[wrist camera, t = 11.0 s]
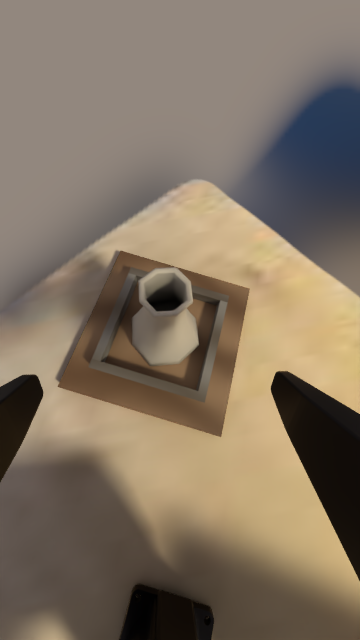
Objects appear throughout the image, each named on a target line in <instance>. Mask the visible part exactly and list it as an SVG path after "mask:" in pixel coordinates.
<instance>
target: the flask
mask: <svg viewBox="0 0 360 640" xmlns="http://www.w3.org/2000/svg"><path fill="white" fill-rule="evenodd" d="M138 283H139V302H140V303H141V304H142V305H143V307H142V308H141V309H140V310H139V312H138V313H136V314H135V315H134V316H133V317H132V346H133V347H134V348H135V349H136V350H137V351H138V353H139V354H140V355H141V356H142V357H143V359H144V360H145V361H146V362H147V363H148V364H149V366H150V367H151V366H162V365H173V364H180V363H181V362H182V361H183V360H184V359H185V358H186V357H187V356H188V355H189V354H190V353H191V352H193V351H194V350H195V349H196V348H197V347H198V346H199V338H198V330H197V322H196V318H195V317H194V316H193V315H192V314H191V313H190V312H189V310H188V309H187V307H189V306H190V305H191V304H192V303H193V297H192V288H191V281H190V280H189V279H188V278H187V277H186V276H185V275H184V274H183V273H182V272H181V271H180V270H179V269H178V268H177V267H169V268H155V269H153V270H152V271H151V272H149V273H148V274H146V275H145V276H144V277H142V278H141V279H139V280H138Z"/></svg>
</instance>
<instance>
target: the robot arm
mask: <svg viewBox="0 0 360 640" xmlns="http://www.w3.org/2000/svg"><path fill="white" fill-rule="evenodd" d="M271 392H272V395H273V398H274V401H275V403H276V406H277V409H278V411H279V414H280V416H281V419H282V422H283V424H284V427H285V429H286V432H287V434H288V436H289V438H290V440H291V442H292V444H293V446H294V448H295V450H296V452H297V454H298V456H299V458H300V460H301V462H302V464H303V466H304V469H305V471H306V473H307V475H308V477H309V479H310V481H311V483H312V485H313V487H314V489H315V491H316V493H317V495H318V497H319V499H320V501H321V503H322V505H323V507H324V509H325V511H326V513H327V515H328V517H329V519H330V521H331V524H332V526H333V528H334V530H335V532H336V534H337V536H338V538H339V540H340V542H341V544H342V546H343V548H344V550H345V552H346V554H347V556H348V558H349V560H350V562H351V564H352V566H353V568H354V570H355V572H356V574H357V576H358V578H359V581H360V414H359V413H357V412H355V411H354V410H352V409H350V408H349V407H347V406H345V405H344V404H342V403H340V402H339V401H337V400H335V399H334V398H332V397H330V396H329V395H327V394H325V393H323V392H322V391H320V390H318V389H317V388H315V387H313V386H312V385H310V384H308V383H307V382H305V381H303V380H302V379H300V378H298V377H297V376H295V375H293V374H291V373H290V372H288V371H278V372H276V374H275V376H274V379H273V382H272V385H271ZM42 397H43V389H42V387H41V384H40V381H39V379H38V377H37V376H36V375H22V376H20V377H18V378H16V379H14V380H12V381H10V382H9V383H7V384H5V385H3V386H1V387H0V482H1V480H2V478H3V477H4V475H5V473H6V471H7V469H8V468H9V466H10V464H11V462H12V460H13V459H14V457H15V455H16V453H17V451H18V450H19V448H20V446H21V444H22V442H23V440H24V438H25V436H26V434H27V432H28V429H29V427H30V425H31V423H32V420H33V418H34V416H35V413H36V411H37V409H38V407H39V404H40V402H41V400H42ZM136 594H140V595H141V596H140V597H136V596H135V595H136ZM206 616H209V618H208V619H205V617H206ZM213 624H214V618H213V613H212V609H211V608H210V607H209V606H207V605H204V604H201V603H197V602H194V601H191V600H190V599H187V598H184V597H181V596H178V595H175V594H172V593H169V592H165V591H160V590H157V589H154V588H151V587H148V586H144V585H141V584H137V585H135V587H134V588H133V590H132V593H131V597H130V601H129V605H128V608H127V612H126V616H125V620H124V624H123V627H122V631H121V635H120V639H119V640H211V637H212V631H213Z"/></svg>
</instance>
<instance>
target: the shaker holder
mask: <svg viewBox="0 0 360 640" xmlns="http://www.w3.org/2000/svg"><path fill="white" fill-rule="evenodd" d="M169 267H174V266H171V265H167V264H164V263H160V262H157V261H154V260H150V259H147V258H144V257H140V256H137V255H133V254H130V253H127V252H123V251H120V253H119V256H118V258H117V260H116V262H115V264H114V266H113V269H112V271H111V273H110V275H109V277H108V279H107V281H106V284H105V286H104V288H103V290H102V292H101V294H100V297H99V299H98V301H97V303H96V305H95V307H94V309H93V312H92V314H91V316H90V318H89V320H88V322H87V325H86V327H85V329H84V331H83V333H82V335H81V337H80V340H79V342H78V344H77V346H76V348H75V350H74V353H73V355H72V357H71V359H70V361H69V363H68V365H67V368H66V370H65V372H64V374H63V376H62V378H61V381H60V383H59V385H58V387H60V388H63V389H67V390H70V391H73V392H76V393H80V394H83V395H86V396H89V397H93V398H96V399H99V400H102V401H106V402H109V403H112V404H115V405H119V406H122V407H125V408H128V409H132V410H135V411H138V412H141V413H145V414H148V415H151V416H154V417H158V418H161V419H164V420H167V421H171V422H174V423H177V424H180V425H184V426H187V427H190V428H193V429H197V430H200V431H203V432H206V433H210V434H213V435H216V436H219V437H221V434H222V429H223V424H224V419H225V414H226V408H227V403H228V398H229V393H230V388H231V382H232V377H233V372H234V367H235V362H236V357H237V351H238V346H239V341H240V336H241V331H242V326H243V320H244V315H245V310H246V305H247V300H248V295H249V289H248V288H245V287H242V286H238V285H235V284H232V283H228V282H225V281H221V280H218V279H215V278H211V277H208V276H204V275H201V274H198V273H194V272H191V271H188V270H184V269H181V268H178V269H179V270H180V271H181V272H182V273H183V274H184V275H185V276H186V277H187V278H188V279H189V280H190V281H191V288H192V297H193V303H192V304H191V305H190V306H189V307H187V309H188V310H189V312H190V313H191V314H192V315H193V316H194V317H195V318H196V322H197V330H198V338H199V346H198V347H197V348H196V349H195V350H194V351H193V352H191V353H190V354H189V355H188V356H187V357H186V358H185V359H184V360H183V361H182V362H181V363H180V364H173V365H162V366H151V367H150V366H149V364H148V363H147V362H146V361H145V360H144V359H143V357H142V356H141V355H140V354H139V353H138V351H137V350H136V349H135V348H134V347H133V346H132V317H133V316H134V315H135V314H136V313H138V312H139V310H140V309H141V308H142V307H143V305H142V304H141V303H140V302H139V283H138V280H139V279H141V278H142V277H144V276H145V275H146V274H148V273H149V272H151V271H152V270H153V269H155V268H169Z"/></svg>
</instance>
